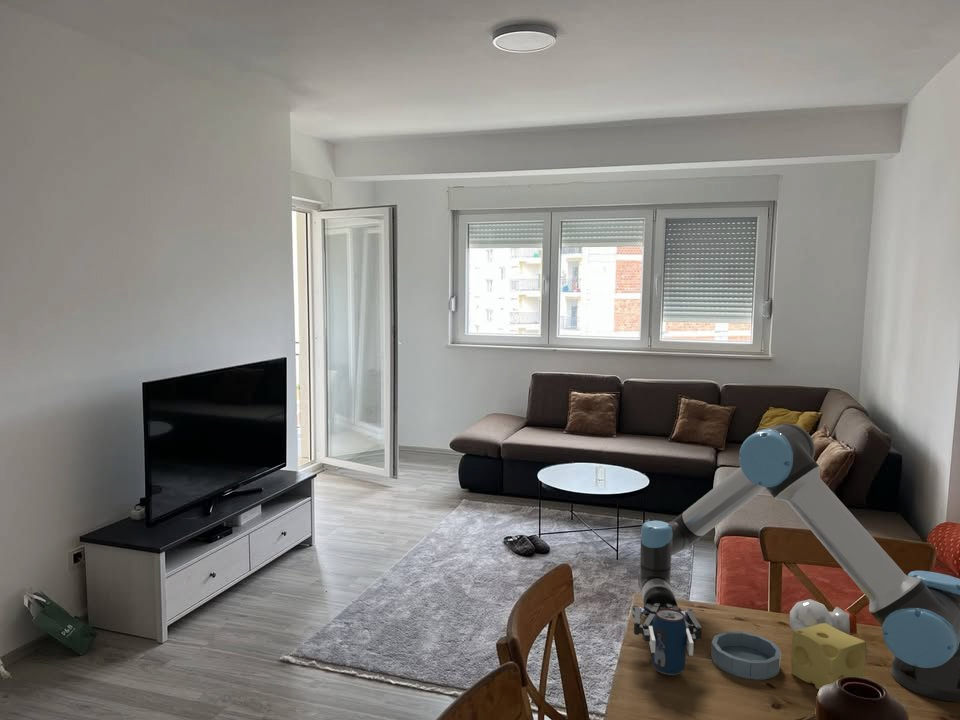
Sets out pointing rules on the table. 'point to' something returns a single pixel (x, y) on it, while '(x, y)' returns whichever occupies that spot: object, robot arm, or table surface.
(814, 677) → the cheese
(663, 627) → the soda can
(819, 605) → the potion bottle
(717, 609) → the table surface
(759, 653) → the bowl
